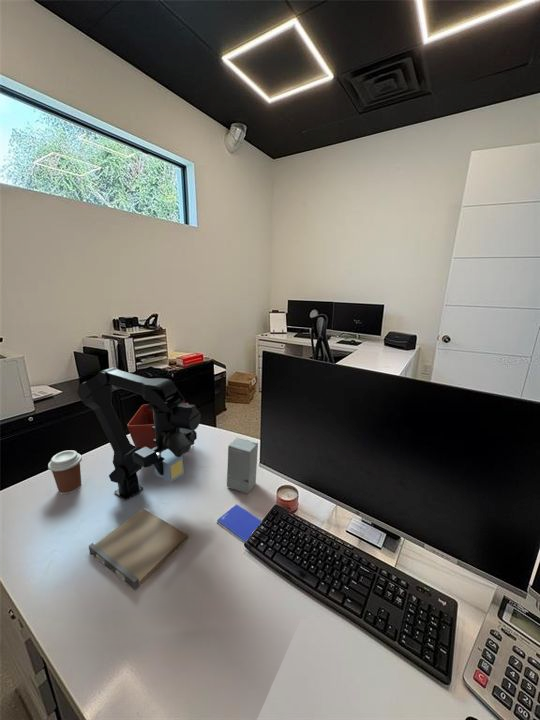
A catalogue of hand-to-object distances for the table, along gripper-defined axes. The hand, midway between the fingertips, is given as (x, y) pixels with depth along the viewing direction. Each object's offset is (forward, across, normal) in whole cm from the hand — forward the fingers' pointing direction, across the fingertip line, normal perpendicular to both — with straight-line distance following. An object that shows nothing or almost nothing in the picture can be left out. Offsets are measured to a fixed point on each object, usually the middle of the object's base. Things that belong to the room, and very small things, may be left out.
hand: (169, 470), depth 89 cm
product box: (+1, 0, 0) cm, 1 cm away
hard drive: (+13, +6, -23) cm, 27 cm away
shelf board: (+12, -14, -5) cm, 19 cm away
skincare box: (+12, +19, -13) cm, 26 cm away
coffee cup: (+12, -14, +34) cm, 38 cm away
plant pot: (+12, +18, +26) cm, 34 cm away
